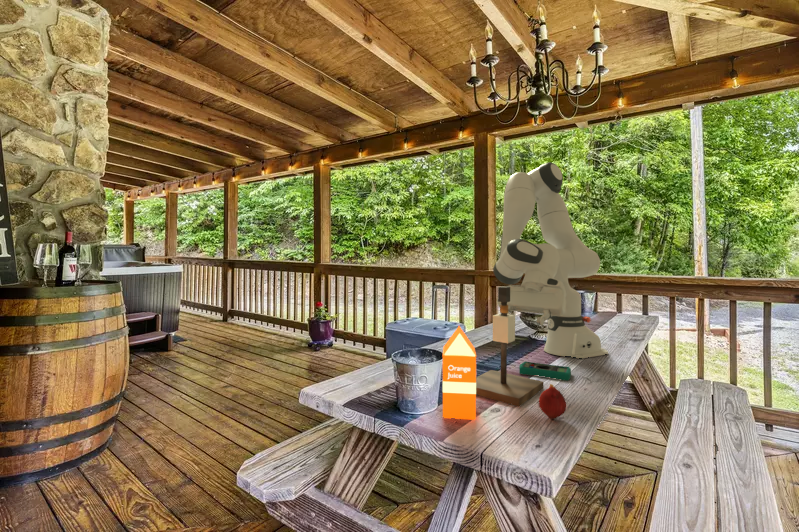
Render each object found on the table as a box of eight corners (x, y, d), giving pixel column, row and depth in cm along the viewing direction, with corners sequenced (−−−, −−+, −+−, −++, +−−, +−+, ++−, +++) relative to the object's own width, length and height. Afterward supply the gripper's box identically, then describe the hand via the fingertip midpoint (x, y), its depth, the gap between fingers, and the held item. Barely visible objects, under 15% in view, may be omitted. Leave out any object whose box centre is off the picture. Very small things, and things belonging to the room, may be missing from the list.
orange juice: (442, 418, 87) (442, 331, 86) (443, 402, 96) (443, 324, 95) (476, 420, 86) (477, 332, 85) (474, 404, 94) (474, 325, 94)
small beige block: (500, 338, 107) (500, 313, 106) (514, 340, 104) (515, 315, 104) (492, 340, 103) (492, 315, 103) (507, 343, 100) (508, 317, 100)
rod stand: (490, 376, 115) (491, 283, 114) (543, 388, 105) (544, 286, 104) (463, 391, 103) (463, 287, 102) (519, 406, 93) (520, 291, 92)
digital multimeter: (522, 368, 124) (522, 359, 124) (571, 375, 117) (571, 366, 117) (517, 375, 118) (517, 365, 118) (569, 382, 111) (569, 372, 111)
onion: (569, 418, 86) (570, 384, 86) (560, 427, 82) (561, 391, 82) (544, 411, 90) (544, 378, 90) (534, 419, 86) (534, 384, 86)
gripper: (502, 278, 124) (488, 311, 117) (567, 281, 111) (555, 319, 104) (508, 290, 128) (494, 323, 121) (571, 295, 114) (560, 332, 108)
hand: (523, 321), depth 112 cm, fingers open, 8 cm apart
